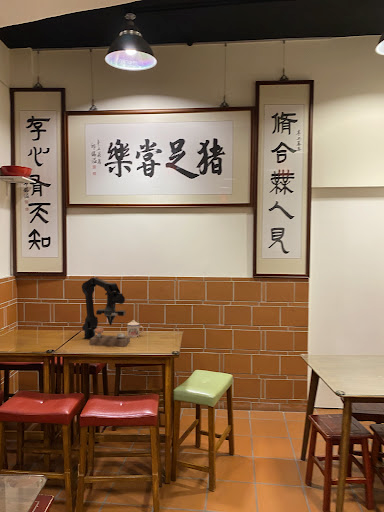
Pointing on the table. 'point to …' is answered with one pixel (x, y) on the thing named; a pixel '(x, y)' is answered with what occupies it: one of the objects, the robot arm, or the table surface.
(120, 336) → the grey plunger
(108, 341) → the press block
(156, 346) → the table surface
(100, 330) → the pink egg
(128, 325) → the teacup with lid
